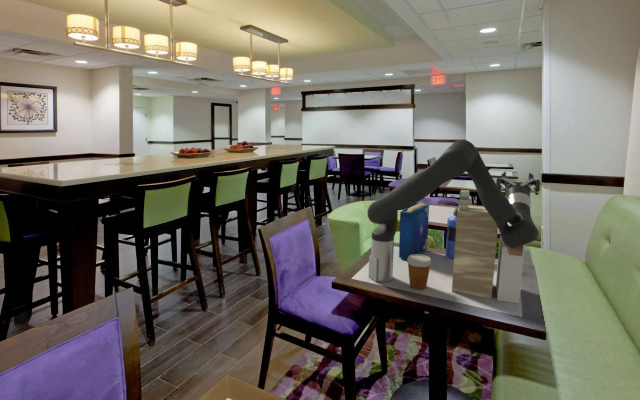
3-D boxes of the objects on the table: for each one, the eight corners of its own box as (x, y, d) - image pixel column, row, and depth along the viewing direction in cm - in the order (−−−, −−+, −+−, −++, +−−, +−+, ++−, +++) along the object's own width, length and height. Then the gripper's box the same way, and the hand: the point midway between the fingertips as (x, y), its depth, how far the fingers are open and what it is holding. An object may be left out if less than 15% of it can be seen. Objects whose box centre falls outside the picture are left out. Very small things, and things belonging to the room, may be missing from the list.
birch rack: (491, 298, 138) (500, 195, 130) (451, 291, 143) (458, 192, 136) (490, 284, 150) (499, 189, 143) (454, 278, 156) (460, 187, 148)
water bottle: (441, 256, 183) (444, 207, 179) (451, 252, 190) (454, 204, 185) (459, 261, 177) (462, 210, 172) (468, 256, 183) (472, 207, 178)
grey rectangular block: (518, 303, 133) (524, 249, 129) (497, 300, 136) (502, 246, 132) (515, 287, 147) (520, 237, 143) (495, 284, 149) (500, 235, 146)
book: (410, 262, 175) (412, 210, 170) (396, 259, 179) (398, 208, 175) (427, 250, 192) (430, 203, 187) (414, 248, 196) (416, 201, 192)
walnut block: (522, 256, 122) (523, 244, 121) (508, 254, 124) (509, 243, 123) (515, 236, 146) (516, 226, 145) (504, 234, 147) (505, 225, 146)
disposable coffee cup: (415, 293, 142) (417, 263, 140) (400, 284, 150) (402, 255, 148) (435, 289, 145) (437, 260, 143) (419, 280, 154) (421, 252, 152)
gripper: (494, 207, 135) (495, 181, 146) (539, 211, 129) (536, 183, 141) (496, 191, 130) (497, 165, 142) (543, 194, 125) (540, 166, 136)
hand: (517, 174), depth 141 cm, fingers open, 8 cm apart
